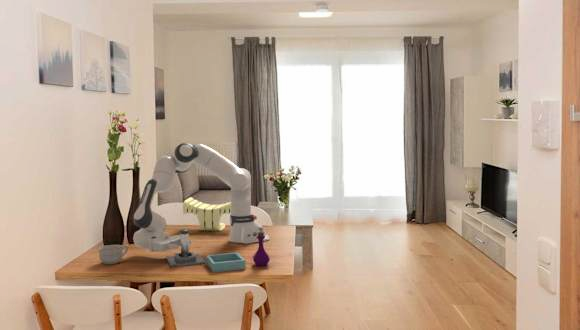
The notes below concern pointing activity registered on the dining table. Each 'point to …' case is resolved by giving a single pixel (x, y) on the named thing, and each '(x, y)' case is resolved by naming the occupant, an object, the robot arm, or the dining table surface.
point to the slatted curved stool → (207, 213)
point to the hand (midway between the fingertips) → (183, 244)
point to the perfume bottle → (261, 251)
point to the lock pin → (184, 242)
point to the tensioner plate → (185, 259)
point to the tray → (225, 262)
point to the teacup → (112, 253)
